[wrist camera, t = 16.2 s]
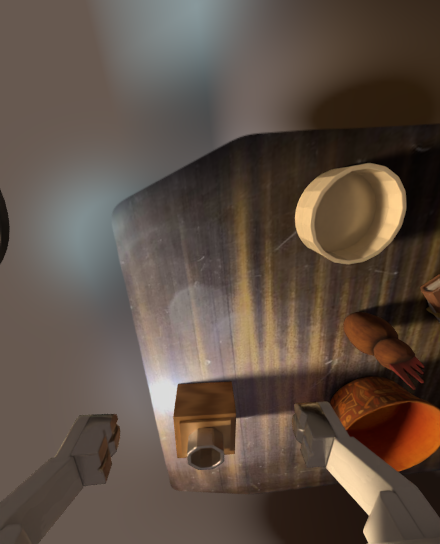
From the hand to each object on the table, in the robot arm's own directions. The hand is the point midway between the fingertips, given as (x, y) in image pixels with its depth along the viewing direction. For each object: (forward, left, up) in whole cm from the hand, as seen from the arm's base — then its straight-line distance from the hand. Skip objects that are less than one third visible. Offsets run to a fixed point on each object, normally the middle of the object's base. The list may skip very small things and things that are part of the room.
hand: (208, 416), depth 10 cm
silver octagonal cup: (-1, -33, -20) cm, 38 cm away
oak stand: (-1, -33, -28) cm, 43 cm away
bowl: (+33, -34, -28) cm, 55 cm away
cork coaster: (-1, -33, -21) cm, 39 cm away
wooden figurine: (+28, -14, -28) cm, 42 cm away
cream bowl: (+21, +6, -28) cm, 35 cm away
